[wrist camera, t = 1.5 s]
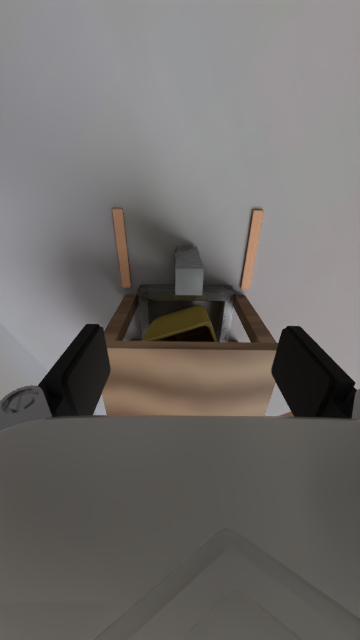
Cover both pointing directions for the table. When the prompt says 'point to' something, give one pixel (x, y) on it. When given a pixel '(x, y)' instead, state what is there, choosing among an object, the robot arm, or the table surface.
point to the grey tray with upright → (188, 291)
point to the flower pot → (182, 327)
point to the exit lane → (249, 259)
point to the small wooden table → (189, 370)
